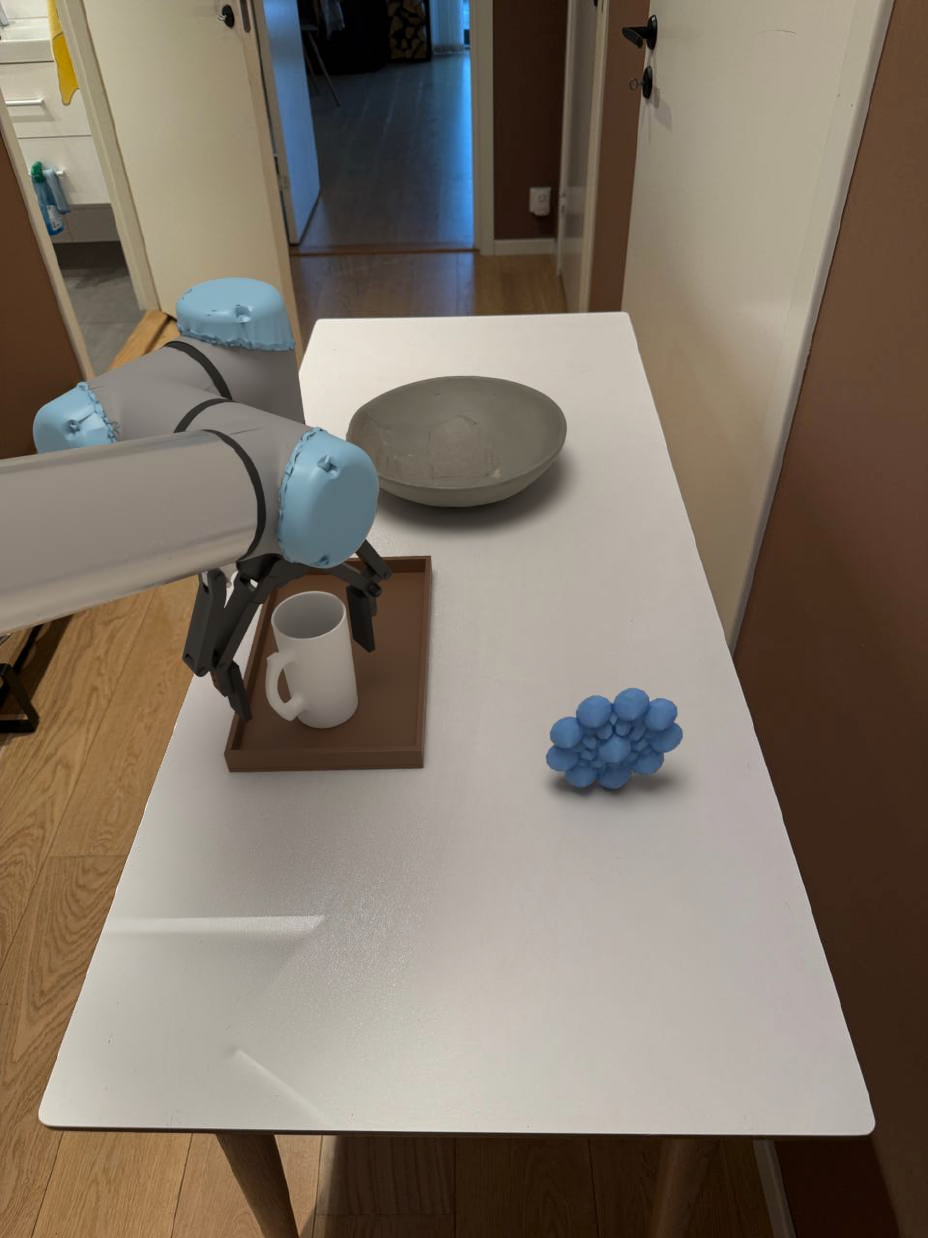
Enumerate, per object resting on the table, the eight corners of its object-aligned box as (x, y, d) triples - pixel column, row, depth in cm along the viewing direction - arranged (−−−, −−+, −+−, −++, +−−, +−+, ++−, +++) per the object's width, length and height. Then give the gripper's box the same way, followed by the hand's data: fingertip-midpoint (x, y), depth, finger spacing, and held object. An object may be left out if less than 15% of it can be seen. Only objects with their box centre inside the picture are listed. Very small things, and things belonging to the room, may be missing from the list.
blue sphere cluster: (666, 746, 87) (681, 653, 79) (678, 805, 82) (696, 711, 74) (542, 749, 87) (544, 656, 79) (546, 807, 82) (550, 715, 74)
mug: (323, 672, 95) (305, 582, 87) (374, 697, 92) (361, 606, 84) (255, 735, 89) (229, 644, 81) (308, 764, 86) (287, 672, 78)
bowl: (406, 415, 136) (401, 362, 130) (589, 447, 127) (593, 392, 122) (314, 516, 117) (304, 459, 112) (521, 562, 108) (522, 503, 103)
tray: (423, 768, 86) (421, 750, 84) (228, 772, 86) (223, 754, 85) (432, 572, 108) (431, 555, 106) (277, 576, 108) (273, 559, 106)
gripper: (367, 414, 81) (387, 601, 95) (96, 525, 69) (165, 720, 83) (420, 446, 76) (433, 637, 90) (140, 571, 65) (205, 769, 78)
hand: (305, 677), depth 87 cm, fingers open, 13 cm apart
